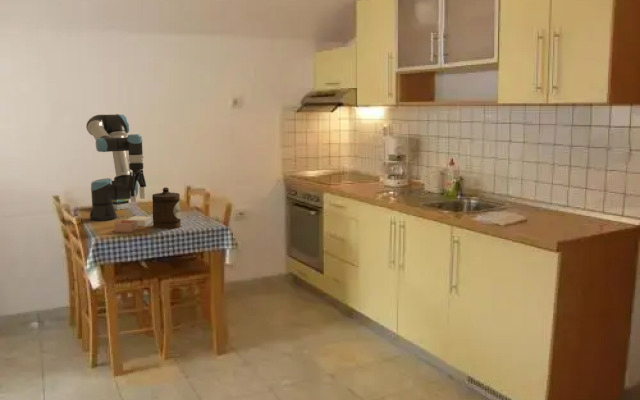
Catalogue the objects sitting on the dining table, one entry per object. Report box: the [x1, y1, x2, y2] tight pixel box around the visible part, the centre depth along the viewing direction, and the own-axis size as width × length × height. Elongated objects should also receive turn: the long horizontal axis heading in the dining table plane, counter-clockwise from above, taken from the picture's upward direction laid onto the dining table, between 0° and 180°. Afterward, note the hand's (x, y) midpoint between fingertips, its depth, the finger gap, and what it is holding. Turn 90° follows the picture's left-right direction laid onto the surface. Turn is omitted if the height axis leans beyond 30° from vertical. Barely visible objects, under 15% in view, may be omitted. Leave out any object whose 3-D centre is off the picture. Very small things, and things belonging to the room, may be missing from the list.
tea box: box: [113, 199, 130, 211], centre depth 388 cm, size 15×10×15 cm
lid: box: [126, 215, 153, 227], centre depth 335 cm, size 10×10×4 cm
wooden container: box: [152, 186, 182, 230], centre depth 330 cm, size 15×15×22 cm
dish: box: [114, 219, 139, 234], centre depth 319 cm, size 9×9×5 cm
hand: (138, 200), depth 333 cm, fingers open, 13 cm apart
